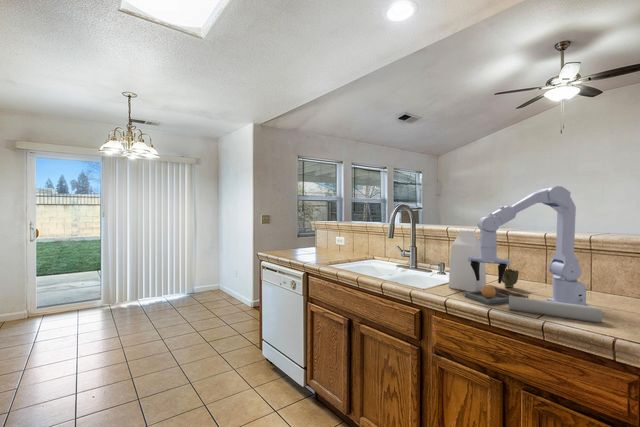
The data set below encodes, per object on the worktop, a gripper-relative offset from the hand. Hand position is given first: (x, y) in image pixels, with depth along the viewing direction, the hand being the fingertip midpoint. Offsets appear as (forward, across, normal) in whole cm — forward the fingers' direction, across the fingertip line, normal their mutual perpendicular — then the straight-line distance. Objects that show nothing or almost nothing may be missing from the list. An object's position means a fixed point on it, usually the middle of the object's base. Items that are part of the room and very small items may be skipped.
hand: (488, 281), depth 122 cm
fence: (+7, -5, -8) cm, 11 cm away
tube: (+8, -21, +8) cm, 23 cm away
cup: (+7, -3, -27) cm, 28 cm away
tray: (+7, 0, 0) cm, 7 cm away
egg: (+4, 0, 0) cm, 4 cm away
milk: (+7, +12, -15) cm, 20 cm away
